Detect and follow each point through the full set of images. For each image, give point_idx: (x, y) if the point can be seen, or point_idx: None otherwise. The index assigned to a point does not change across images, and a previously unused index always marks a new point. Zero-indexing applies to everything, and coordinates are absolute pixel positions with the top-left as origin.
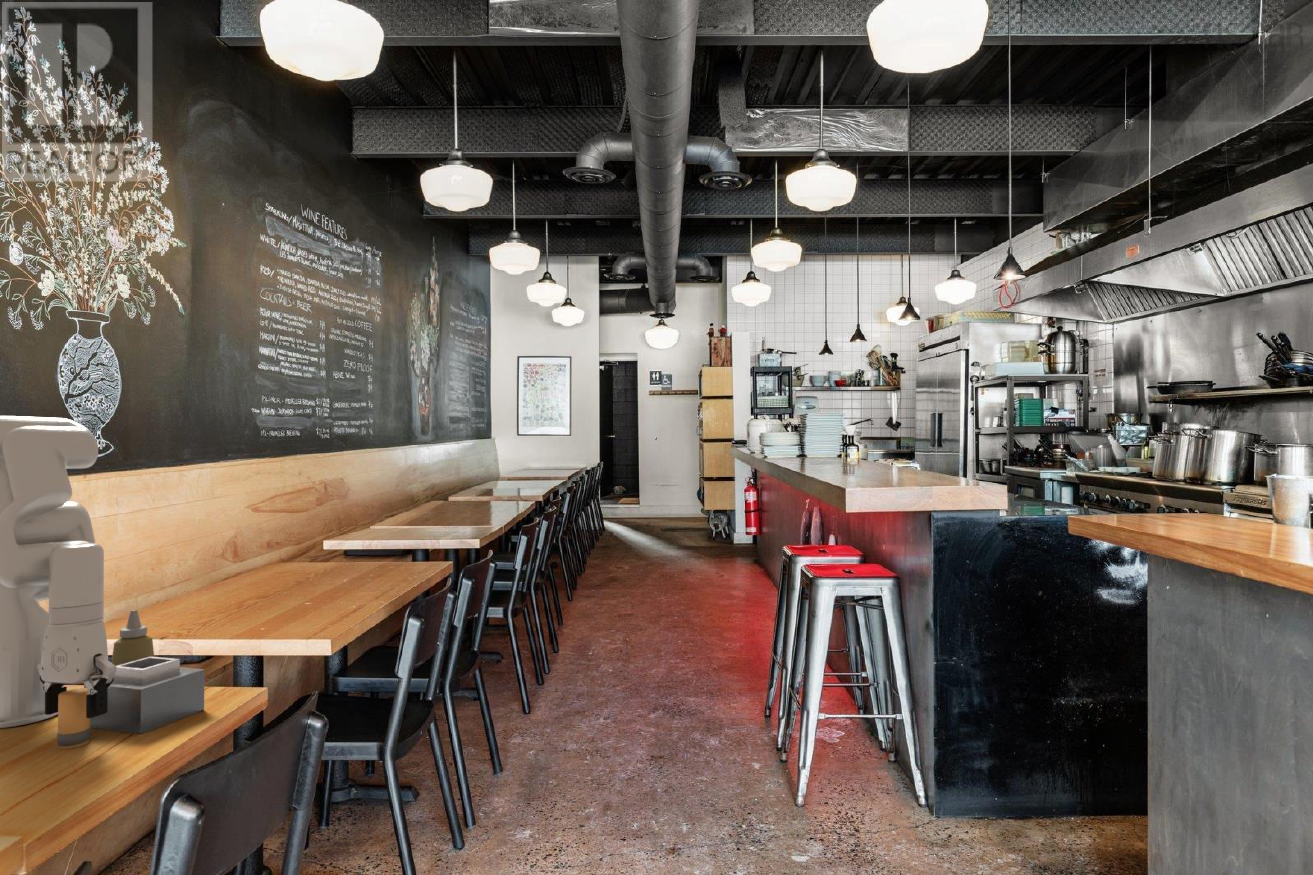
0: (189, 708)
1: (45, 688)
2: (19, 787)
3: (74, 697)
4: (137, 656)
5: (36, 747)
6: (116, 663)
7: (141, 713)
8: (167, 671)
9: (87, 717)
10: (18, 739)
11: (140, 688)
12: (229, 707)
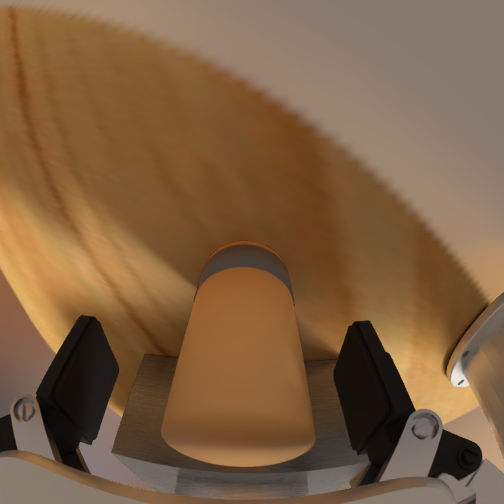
0: None
1: (421, 425)
2: (65, 29)
3: (169, 410)
4: None
5: (344, 233)
6: None
7: (130, 396)
8: None
9: (88, 317)
10: (442, 265)
11: (125, 458)
12: None
